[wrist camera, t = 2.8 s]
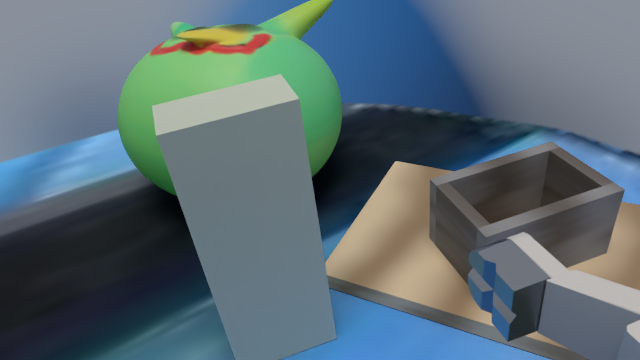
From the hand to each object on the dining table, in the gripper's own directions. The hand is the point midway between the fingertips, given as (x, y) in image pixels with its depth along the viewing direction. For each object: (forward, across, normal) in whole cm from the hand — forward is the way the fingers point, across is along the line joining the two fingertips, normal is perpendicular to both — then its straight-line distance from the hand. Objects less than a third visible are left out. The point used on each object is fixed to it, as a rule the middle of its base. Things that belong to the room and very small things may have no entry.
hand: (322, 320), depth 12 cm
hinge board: (+13, -15, +15) cm, 25 cm away
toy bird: (+30, -1, +15) cm, 34 cm away
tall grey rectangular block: (+13, 0, +15) cm, 20 cm away
